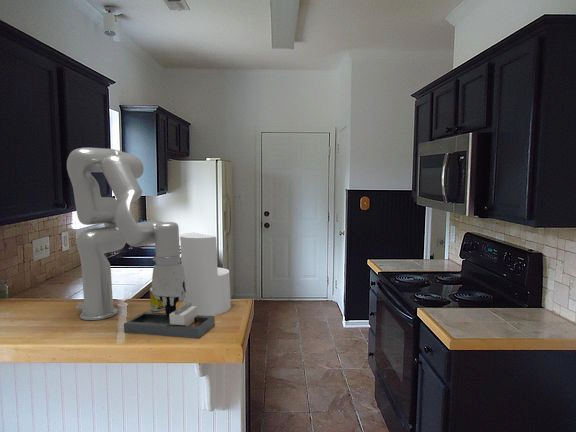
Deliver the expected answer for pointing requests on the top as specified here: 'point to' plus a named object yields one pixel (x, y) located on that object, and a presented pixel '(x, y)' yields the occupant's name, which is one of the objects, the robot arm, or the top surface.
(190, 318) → the slider knob
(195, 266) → the cylinder
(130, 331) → the dark grey tray
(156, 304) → the supplement bottle
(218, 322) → the top surface
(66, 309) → the top surface
